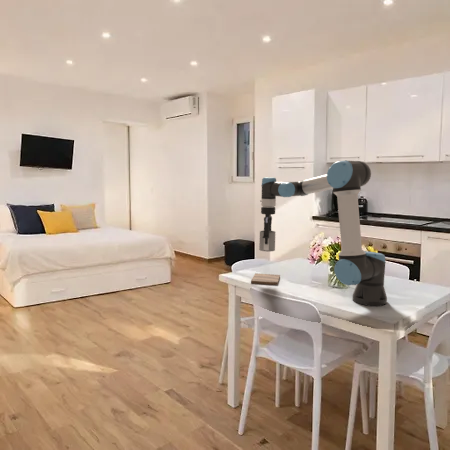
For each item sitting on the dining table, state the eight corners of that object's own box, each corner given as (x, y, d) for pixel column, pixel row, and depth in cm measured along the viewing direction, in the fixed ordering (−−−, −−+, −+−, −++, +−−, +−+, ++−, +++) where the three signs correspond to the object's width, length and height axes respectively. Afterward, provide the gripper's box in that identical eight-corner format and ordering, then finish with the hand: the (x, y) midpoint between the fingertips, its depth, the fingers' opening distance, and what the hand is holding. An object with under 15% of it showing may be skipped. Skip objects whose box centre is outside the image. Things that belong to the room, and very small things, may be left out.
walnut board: (277, 285, 224) (277, 282, 223) (251, 283, 226) (251, 280, 226) (280, 277, 239) (280, 274, 239) (255, 275, 242) (255, 273, 242)
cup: (274, 251, 225) (274, 233, 224) (258, 251, 227) (259, 232, 226) (275, 248, 234) (276, 230, 232) (260, 248, 235) (260, 230, 234)
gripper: (263, 204, 238) (262, 244, 241) (258, 208, 218) (257, 251, 221) (277, 205, 237) (275, 245, 240) (273, 208, 216) (272, 252, 219)
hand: (267, 248), depth 230 cm, fingers closed on cup, 8 cm apart
